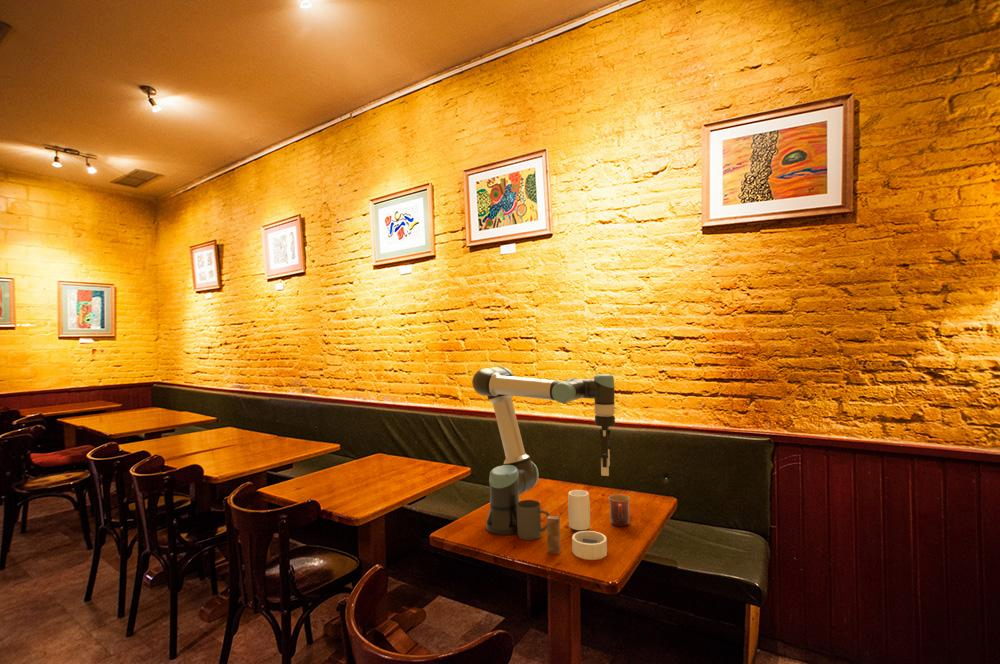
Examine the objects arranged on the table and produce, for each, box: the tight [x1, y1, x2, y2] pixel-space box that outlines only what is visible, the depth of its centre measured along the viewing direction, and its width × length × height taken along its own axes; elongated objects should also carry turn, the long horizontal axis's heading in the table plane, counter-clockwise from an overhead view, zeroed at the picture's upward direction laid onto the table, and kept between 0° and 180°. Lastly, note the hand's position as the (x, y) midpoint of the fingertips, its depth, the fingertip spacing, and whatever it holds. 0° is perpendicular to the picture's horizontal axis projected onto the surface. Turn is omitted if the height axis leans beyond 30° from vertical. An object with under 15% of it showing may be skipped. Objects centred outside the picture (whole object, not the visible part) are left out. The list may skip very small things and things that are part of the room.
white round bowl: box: [571, 530, 608, 561], centre depth 162 cm, size 12×12×5 cm
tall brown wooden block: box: [546, 515, 561, 555], centre depth 163 cm, size 4×2×12 cm, turn 73°
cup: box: [567, 489, 591, 531], centre depth 183 cm, size 8×8×14 cm
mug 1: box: [517, 499, 551, 541], centre depth 177 cm, size 14×9×12 cm
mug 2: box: [607, 493, 631, 527], centre depth 186 cm, size 12×9×10 cm
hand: (605, 470), depth 178 cm, fingers open, 13 cm apart
